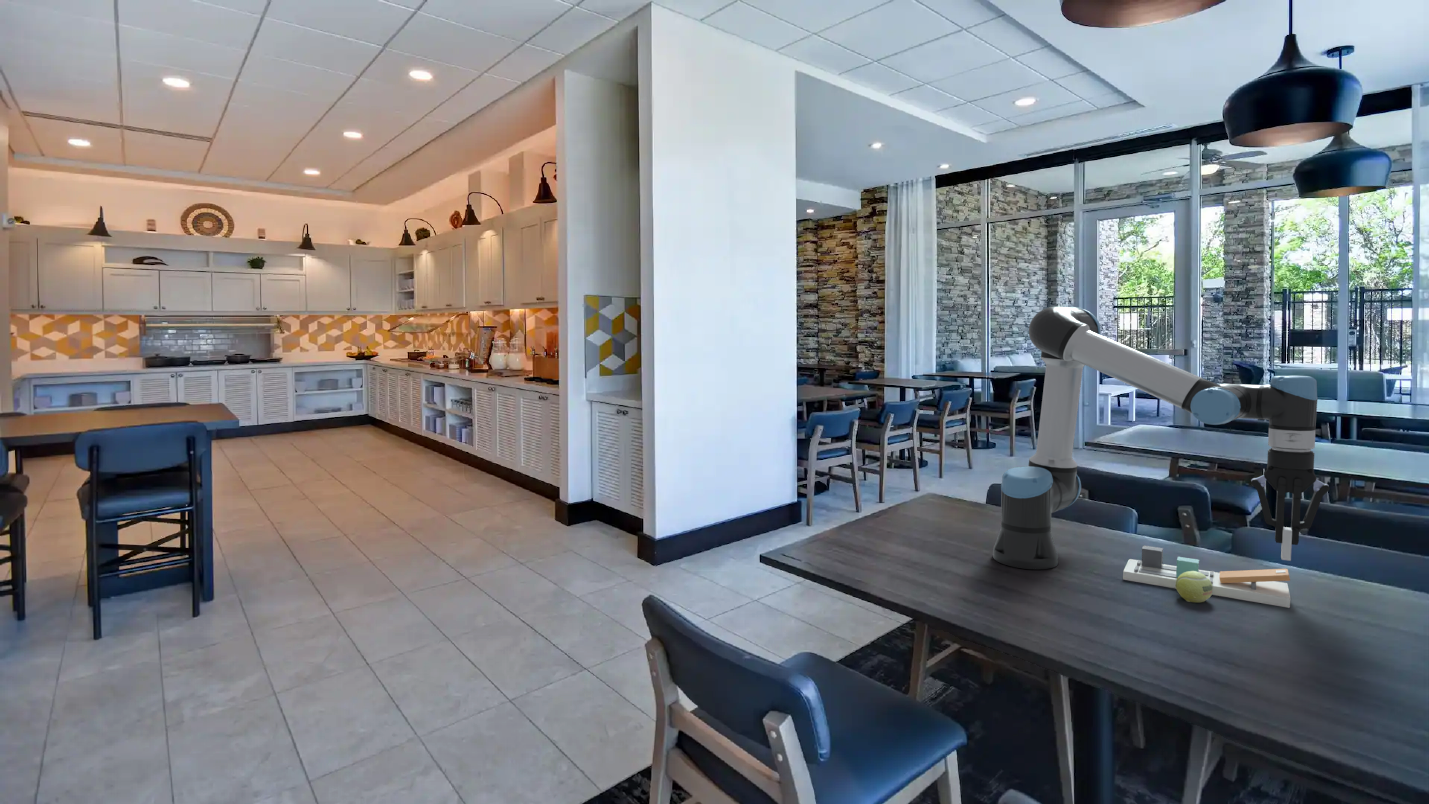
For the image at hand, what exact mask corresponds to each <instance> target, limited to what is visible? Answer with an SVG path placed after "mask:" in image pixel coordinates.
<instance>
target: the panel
mask: <svg viewBox="0 0 1429 804" xmlns="http://www.w3.org/2000/svg"><path fill="white" fill-rule="evenodd" d="M1141 563H1142V559H1132V558H1129V559H1128V561H1127V563H1126V565H1125V567H1124V569H1123V572H1122V573H1123V574H1122V580H1125V581H1130V582H1136V583H1142V584H1147V585H1154V586H1160V587H1165V588H1169V589H1176V586H1175V585H1176V580H1177V578H1178V577H1176V569H1177V565H1170V564H1165V563H1164V564H1163V563H1162V567H1161V568H1158V567H1152V566H1145V565H1141ZM1199 572H1200V573H1202V574H1204V575H1205V576H1206V577H1207V578H1208V579H1209V580H1210V581H1211V583H1212V586H1213V591H1212V595H1213V596H1217V597H1218V596H1219V597H1223V598H1230V599H1235V600H1241V601H1247V602H1251V603H1252V602H1254V603H1261V604H1263V605H1270V606H1277V607H1283V608H1288V609H1290V608H1291V595H1290V594H1291V593H1290V590H1289V586H1288V585H1289V584H1288V583H1287V582H1284V581H1266V582H1237V583H1221V582H1220V578H1219V576H1220V572H1215V571H1214V570H1210V571H1209V570H1204V569H1199ZM1212 595H1211V596H1212Z"/></svg>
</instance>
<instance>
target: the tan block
mask: <svg viewBox="0 0 1429 804" xmlns="http://www.w3.org/2000/svg"><path fill="white" fill-rule="evenodd" d="M1219 573H1220V576H1219V578H1220V582H1221V583H1237V582H1266V581H1276V582H1286V581H1287V582H1290V581H1291V578H1290V577H1291V576H1290V573H1289V569H1288V568H1271V569H1268V568H1267V569H1249V570H1248V569H1246V570H1245V569H1244V570H1224V571H1222V570H1220V571H1219Z"/></svg>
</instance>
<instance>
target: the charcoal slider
mask: <svg viewBox="0 0 1429 804" xmlns="http://www.w3.org/2000/svg"><path fill="white" fill-rule="evenodd" d="M1163 559H1164V547H1156V546H1150V545H1143V546H1142V548H1141V561H1142V563H1141V565H1145V566H1152V567H1158V568H1161V567H1162V564H1163Z"/></svg>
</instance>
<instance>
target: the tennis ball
mask: <svg viewBox="0 0 1429 804" xmlns="http://www.w3.org/2000/svg"><path fill="white" fill-rule="evenodd" d="M1175 586H1176V588H1175V589H1176V591H1177V593H1178V594H1179V595H1180V597H1181V598H1182V599H1183V600H1185V601H1186V602H1187V603H1205V601H1207V600H1208V599H1210V597H1211V596H1212V591H1213V586H1212V583H1211V581H1210V580H1209V579H1208V578H1207V577H1206V576H1205V575H1204V574H1202V573H1200V572H1197V571H1187V572H1184V573H1182V574H1181V575H1180V576H1179V577H1178V578H1177V580H1176V585H1175Z"/></svg>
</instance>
